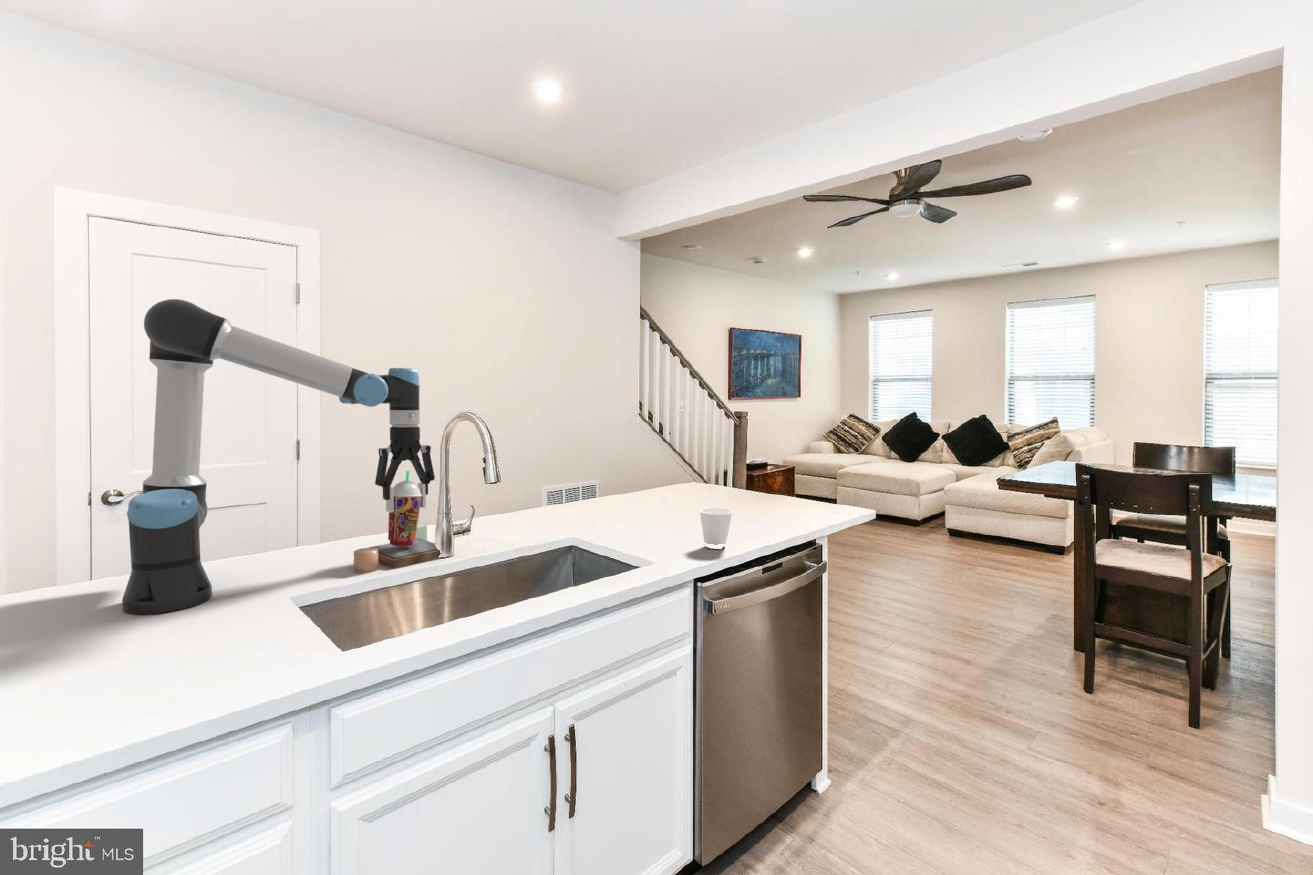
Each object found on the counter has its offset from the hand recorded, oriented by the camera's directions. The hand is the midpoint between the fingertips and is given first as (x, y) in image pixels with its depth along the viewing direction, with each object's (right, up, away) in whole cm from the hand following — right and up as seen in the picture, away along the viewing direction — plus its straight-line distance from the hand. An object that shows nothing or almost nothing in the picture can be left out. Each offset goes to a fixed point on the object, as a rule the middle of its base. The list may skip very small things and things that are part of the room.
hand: (406, 509), depth 171 cm
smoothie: (-1, -10, 0) cm, 10 cm away
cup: (+85, -13, +16) cm, 88 cm away
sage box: (-4, -12, +16) cm, 21 cm away
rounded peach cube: (-6, -14, -11) cm, 19 cm away
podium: (0, -13, +1) cm, 13 cm away
